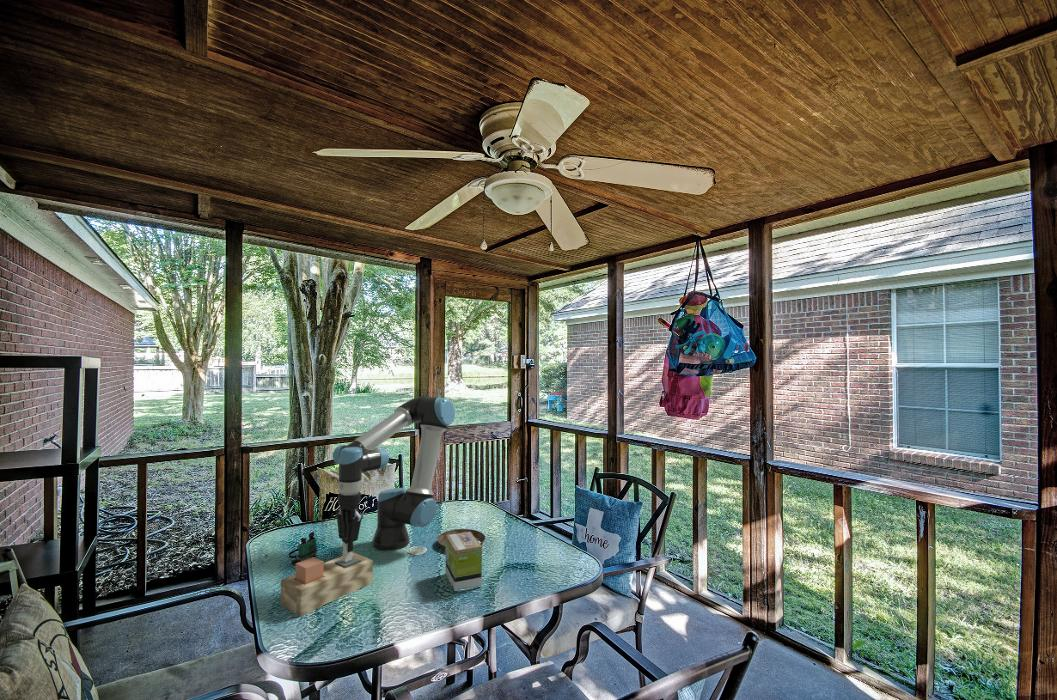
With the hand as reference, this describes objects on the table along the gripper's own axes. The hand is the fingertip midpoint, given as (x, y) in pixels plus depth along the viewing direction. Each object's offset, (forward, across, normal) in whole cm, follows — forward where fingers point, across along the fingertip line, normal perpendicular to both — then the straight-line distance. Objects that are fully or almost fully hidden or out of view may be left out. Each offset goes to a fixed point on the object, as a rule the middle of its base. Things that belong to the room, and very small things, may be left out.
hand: (347, 560), depth 158 cm
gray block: (+8, 0, 0) cm, 8 cm away
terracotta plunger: (+4, 0, -14) cm, 14 cm away
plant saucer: (+9, +8, +50) cm, 52 cm away
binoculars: (+9, -30, +1) cm, 32 cm away
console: (+9, 0, -7) cm, 11 cm away
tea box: (+9, +30, +26) cm, 41 cm away
